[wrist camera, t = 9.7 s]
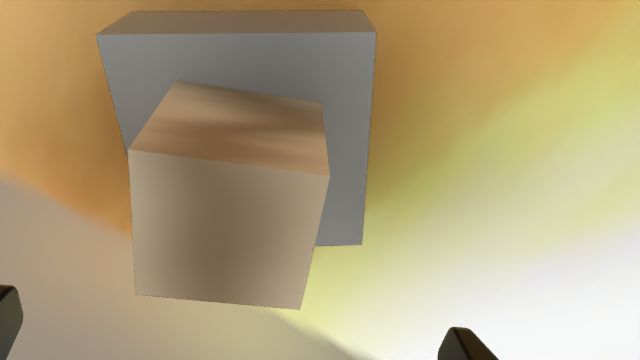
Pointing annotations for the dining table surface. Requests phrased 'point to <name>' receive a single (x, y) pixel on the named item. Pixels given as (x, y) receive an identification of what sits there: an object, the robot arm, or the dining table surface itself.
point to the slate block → (258, 80)
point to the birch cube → (227, 196)
